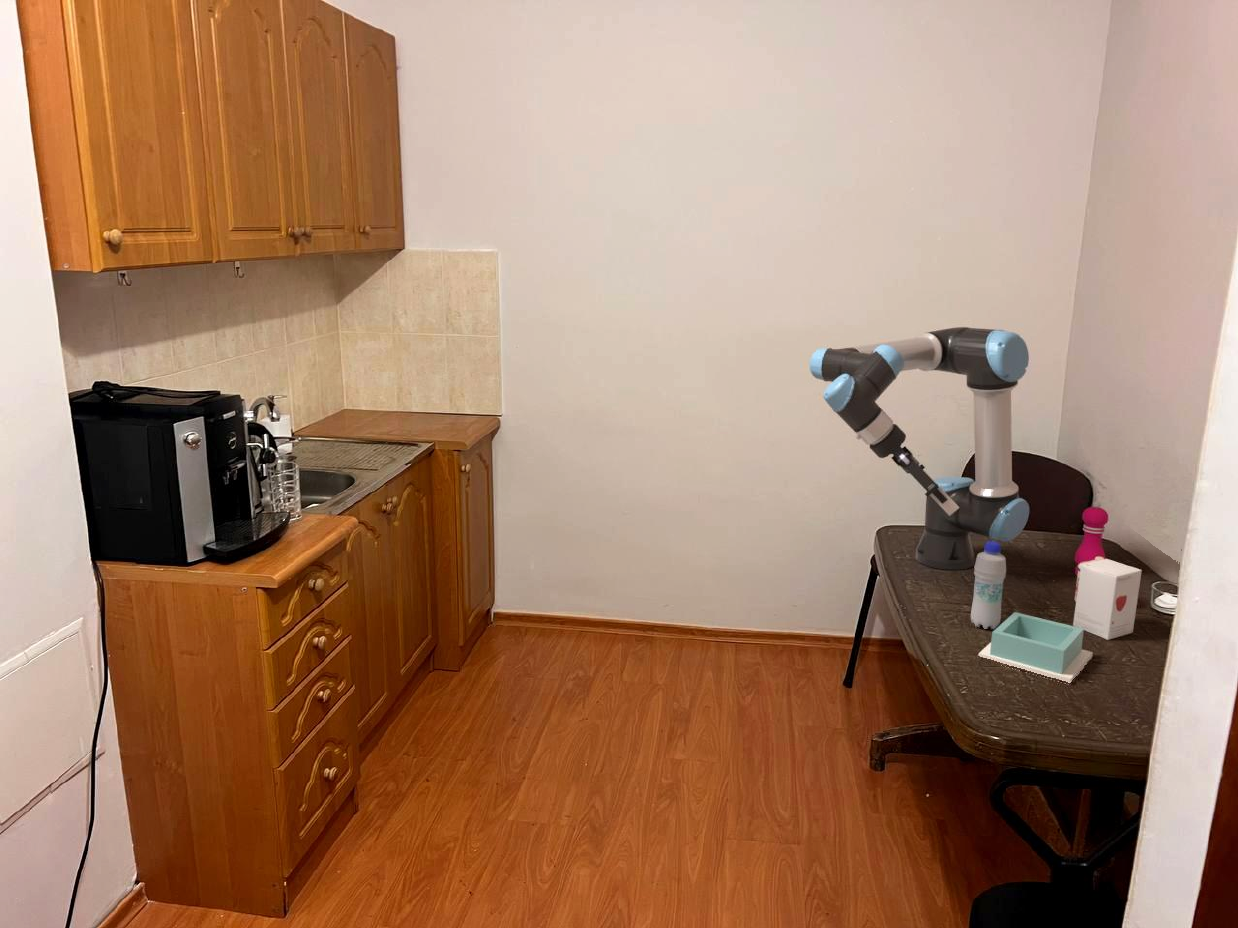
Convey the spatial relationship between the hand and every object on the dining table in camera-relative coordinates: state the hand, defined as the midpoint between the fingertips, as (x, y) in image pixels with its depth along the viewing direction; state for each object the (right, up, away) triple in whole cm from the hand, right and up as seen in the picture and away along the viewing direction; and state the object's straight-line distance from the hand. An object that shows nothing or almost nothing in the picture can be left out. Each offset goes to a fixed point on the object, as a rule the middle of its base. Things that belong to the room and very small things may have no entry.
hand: (946, 502), depth 204 cm
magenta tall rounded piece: (+50, -21, +37) cm, 66 cm away
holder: (+15, -32, -10) cm, 37 cm away
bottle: (+11, -28, +6) cm, 31 cm away
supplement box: (+37, -29, +4) cm, 47 cm away
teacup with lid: (+42, -26, +17) cm, 52 cm away
